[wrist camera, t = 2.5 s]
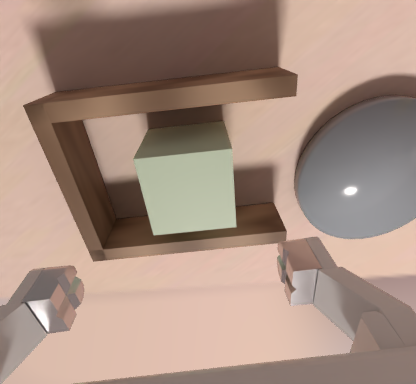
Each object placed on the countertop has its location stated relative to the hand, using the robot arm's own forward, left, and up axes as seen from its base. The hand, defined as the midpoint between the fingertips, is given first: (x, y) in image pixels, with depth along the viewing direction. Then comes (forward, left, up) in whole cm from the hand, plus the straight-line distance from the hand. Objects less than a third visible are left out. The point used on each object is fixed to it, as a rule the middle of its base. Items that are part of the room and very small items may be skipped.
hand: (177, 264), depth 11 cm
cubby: (0, 0, -10) cm, 10 cm away
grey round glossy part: (-13, +2, -10) cm, 17 cm away
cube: (0, 0, -10) cm, 10 cm away
